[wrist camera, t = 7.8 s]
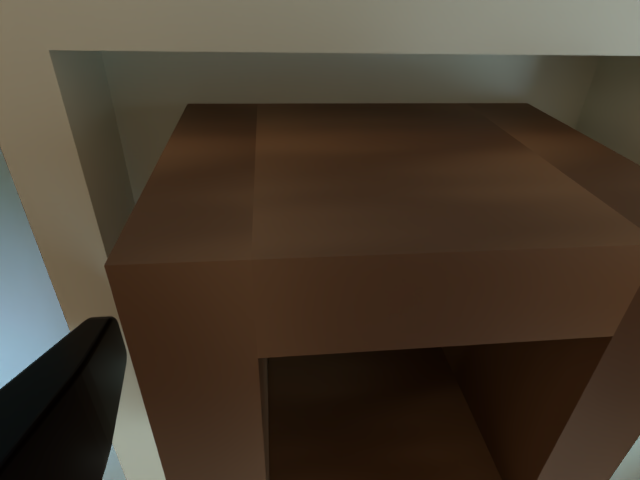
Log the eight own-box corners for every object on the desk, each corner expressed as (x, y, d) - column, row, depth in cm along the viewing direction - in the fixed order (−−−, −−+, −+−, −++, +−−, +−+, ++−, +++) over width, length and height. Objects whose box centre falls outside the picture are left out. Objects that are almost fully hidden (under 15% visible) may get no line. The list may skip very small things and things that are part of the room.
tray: (656, -26, 8) (790, -20, 6) (506, 375, 14) (548, 448, 12) (27, -46, 7) (-73, -47, 5) (150, 400, 13) (128, 486, 11)
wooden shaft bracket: (527, 103, 9) (773, 240, 4) (461, 341, 12) (564, 543, 8) (187, 103, 8) (104, 265, 4) (221, 355, 11) (196, 585, 7)
